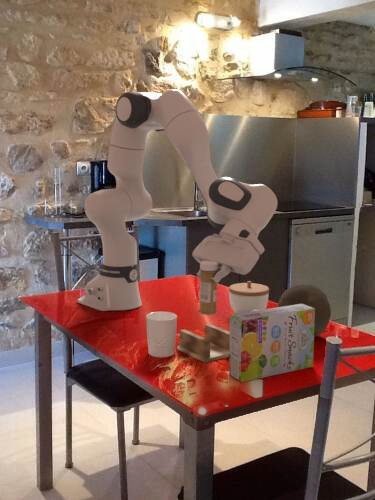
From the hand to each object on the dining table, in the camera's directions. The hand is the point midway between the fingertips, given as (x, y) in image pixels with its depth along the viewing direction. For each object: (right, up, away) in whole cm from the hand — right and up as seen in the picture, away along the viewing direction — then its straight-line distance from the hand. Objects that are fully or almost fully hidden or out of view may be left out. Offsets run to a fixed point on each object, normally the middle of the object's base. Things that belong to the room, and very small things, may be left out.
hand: (206, 279), depth 147 cm
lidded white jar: (+14, -14, +37) cm, 42 cm away
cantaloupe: (+28, -17, +16) cm, 37 cm away
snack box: (+15, -22, -9) cm, 28 cm away
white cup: (-12, -19, +2) cm, 23 cm away
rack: (0, -19, +4) cm, 19 cm away
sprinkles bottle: (0, -9, +2) cm, 9 cm away
